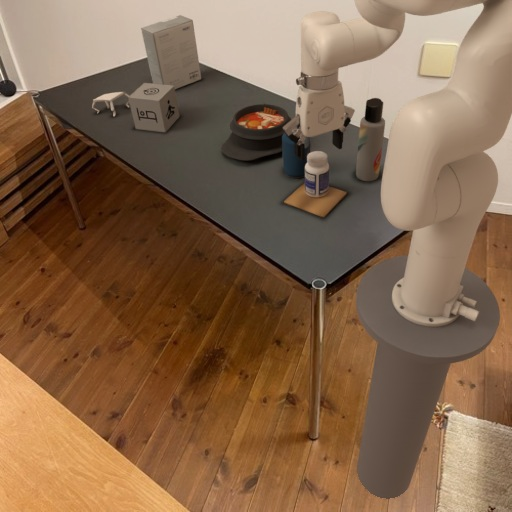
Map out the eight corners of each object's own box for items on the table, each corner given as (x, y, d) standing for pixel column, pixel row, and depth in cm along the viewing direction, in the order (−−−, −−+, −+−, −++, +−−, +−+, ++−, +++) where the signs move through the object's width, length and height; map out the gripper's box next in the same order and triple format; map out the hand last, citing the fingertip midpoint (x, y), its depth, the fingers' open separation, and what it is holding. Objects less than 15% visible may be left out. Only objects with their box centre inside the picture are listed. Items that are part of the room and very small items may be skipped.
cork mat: (347, 193, 123) (347, 192, 122) (323, 217, 116) (323, 216, 116) (308, 180, 128) (308, 179, 128) (283, 202, 122) (283, 201, 121)
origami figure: (105, 121, 158) (101, 106, 155) (92, 112, 163) (88, 98, 159) (138, 107, 163) (135, 93, 160) (125, 100, 168) (121, 85, 165)
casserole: (267, 117, 154) (266, 90, 148) (316, 136, 144) (316, 108, 138) (206, 151, 141) (203, 124, 135) (255, 175, 131) (253, 146, 125)
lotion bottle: (382, 172, 128) (391, 98, 115) (373, 184, 125) (382, 108, 111) (361, 167, 131) (368, 93, 117) (352, 178, 127) (358, 103, 114)
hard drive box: (189, 73, 181) (181, 14, 168) (202, 79, 177) (194, 19, 163) (152, 87, 174) (140, 27, 161) (164, 94, 170) (152, 32, 156)
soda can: (314, 175, 129) (315, 133, 121) (289, 182, 128) (289, 140, 119) (302, 162, 134) (302, 120, 126) (278, 169, 132) (277, 127, 124)
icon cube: (135, 128, 153) (128, 97, 146) (151, 113, 160) (144, 82, 153) (165, 132, 150) (158, 100, 144) (179, 116, 157) (174, 85, 150)
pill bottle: (326, 184, 126) (328, 148, 119) (329, 197, 121) (331, 161, 115) (303, 185, 126) (303, 150, 119) (305, 199, 121) (306, 163, 115)
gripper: (290, 95, 99) (292, 170, 110) (365, 75, 104) (360, 149, 115) (273, 82, 105) (277, 155, 116) (345, 63, 109) (342, 135, 120)
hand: (318, 152), depth 115 cm, fingers open, 9 cm apart
